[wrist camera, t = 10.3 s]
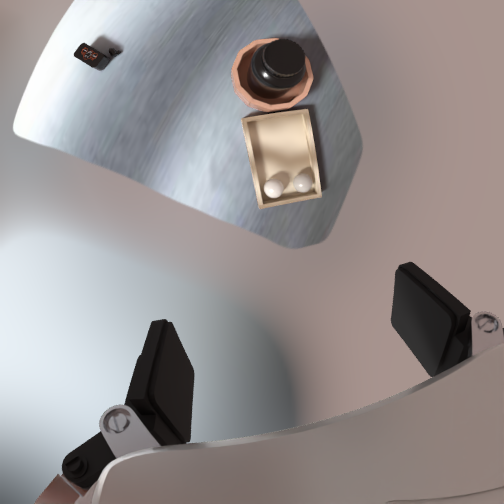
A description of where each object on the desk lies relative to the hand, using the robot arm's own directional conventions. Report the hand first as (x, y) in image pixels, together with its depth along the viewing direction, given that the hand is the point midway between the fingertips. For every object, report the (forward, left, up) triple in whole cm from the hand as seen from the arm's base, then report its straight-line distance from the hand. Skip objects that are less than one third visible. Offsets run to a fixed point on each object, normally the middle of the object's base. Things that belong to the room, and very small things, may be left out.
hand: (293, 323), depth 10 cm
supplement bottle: (-16, +7, -34) cm, 38 cm away
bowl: (-16, +7, -34) cm, 39 cm away
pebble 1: (+1, +5, -34) cm, 35 cm away
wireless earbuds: (-28, -18, -35) cm, 48 cm away
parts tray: (-3, +7, -34) cm, 35 cm away
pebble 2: (+1, +9, -34) cm, 35 cm away
